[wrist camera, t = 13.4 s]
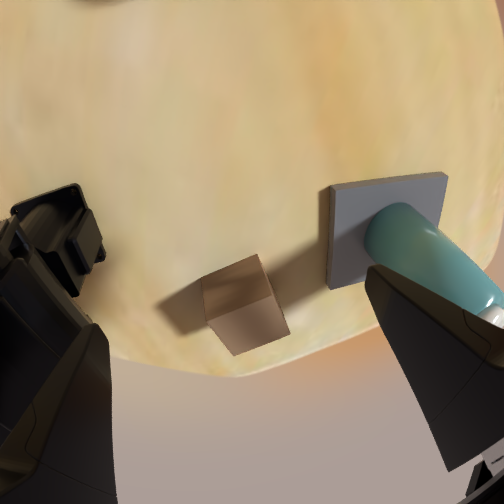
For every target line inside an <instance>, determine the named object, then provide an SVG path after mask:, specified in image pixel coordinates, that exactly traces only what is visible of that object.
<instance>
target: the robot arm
mask: <svg viewBox="0 0 504 504" xmlns="http://www.w3.org/2000/svg"><path fill="white" fill-rule="evenodd" d="M72 189H75V190H76V193H73V192H72ZM15 209H17V210H18V212H16V210H15ZM11 214H12V217H10V218H9V219H5V220H3V221H0V504H118V501H117V497H116V496H117V494H116V485H115V474H114V460H113V442H112V382H111V368H110V352H109V342H108V339H107V337H106V336H105V334H104V333H103V331H102V330H101V328H100V326H99V325H98V324H97V323H93V322H92V320H91V319H90V317H89V316H88V315H86V314H85V313H84V312H83V311H82V310H81V308H80V307H79V306H78V305H77V304H76V302H75V301H74V300H73V299H72V298H73V297H78V296H79V294H80V291H81V288H82V285H83V282H84V279H85V276H86V275H88V274H90V272H91V270H92V267H93V264H94V263H99V262H102V261H104V260H105V257H106V252H105V249H104V247H103V245H102V236H101V233H100V231H99V228H98V226H97V223H96V220H95V218H94V215H93V212H92V210H90V209H89V208H88V206H87V204H86V201H85V198H84V195H83V193H82V190H81V187H80V186H79V185H78V184H76V183H73V184H70V185H67V186H64V187H61V188H58V189H55V190H52V191H49V192H46V193H43V194H41V195H38V196H35V197H32V198H30V199H27V200H25V201H22V202H19V203H17V204H15V205H14V206H13V207H12V208H11ZM97 254H101V255H102V256H98V255H97ZM365 290H366V293H367V295H368V298H369V300H370V302H371V305H372V307H373V310H374V312H375V315H376V317H377V320H378V322H379V324H380V327H381V328H382V330H383V333H384V335H385V336H386V338H387V340H388V342H389V344H390V346H391V348H392V350H393V352H394V354H395V355H396V358H397V360H398V362H399V364H400V365H401V368H402V369H403V371H404V374H405V375H406V378H407V380H408V382H409V383H410V386H411V388H412V390H413V392H414V394H415V396H416V398H417V401H418V403H419V405H420V407H421V409H422V411H423V414H424V416H425V418H426V420H427V422H428V424H429V428H430V430H431V432H432V434H433V437H434V439H435V441H436V444H437V446H438V449H439V451H440V453H441V456H442V458H443V461H444V463H445V466H446V468H447V470H448V472H450V471H452V470H454V469H456V468H457V467H459V466H461V465H463V464H464V463H466V462H468V461H469V460H471V459H473V458H474V457H476V456H477V455H479V454H480V453H481V455H482V456H483V460H482V461H481V462H479V463H478V464H477V465H475V466H474V470H473V473H472V476H471V479H470V482H469V486H468V489H467V492H466V498H465V499H463V500H462V501H461V502H459V503H458V504H504V329H502V328H500V327H498V326H496V325H494V324H492V323H490V322H488V321H486V320H484V319H482V318H480V317H478V316H476V315H475V314H473V313H471V312H469V311H467V310H466V309H464V308H463V309H462V307H460V306H458V305H457V304H455V303H453V302H451V301H449V300H448V299H446V298H444V297H442V296H440V295H439V294H437V293H435V292H433V291H431V290H429V289H428V288H426V287H424V286H422V285H420V284H418V283H416V282H415V281H413V280H411V279H409V278H407V277H405V276H403V275H401V274H399V273H397V272H396V271H394V270H392V269H390V268H388V267H386V266H384V265H382V264H374V265H370V266H369V267H368V269H367V274H366V279H365Z"/></svg>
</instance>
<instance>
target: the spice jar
mask: <svg viewBox="0 0 504 504" xmlns="http://www.w3.org/2000/svg"><path fill="white" fill-rule="evenodd" d="M364 247H365V250H366V252H367V254H368V255H369V256H370V258H371V259H372V260H373V261H374V263H375V264H382V265H384V266H386V267H388V268H390V269H392V270H394V271H396V272H397V273H399V274H401V275H403V276H405V277H407V278H409V279H411V280H413V281H415V282H416V283H418V284H420V285H422V286H424V287H426V288H428V289H429V290H431V291H433V292H435V293H437V294H439V295H440V296H442V297H444V298H446V299H448V300H449V301H451V302H453V303H455V304H457V305H458V306H460V307H462V309H463V308H464V309H466V310H467V311H469V312H471V313H473V314H475V315H476V316H478V317H480V318H482V319H484V320H486V321H488V322H490V323H492V324H494V325H496V326H498V327H500V328H502V327H503V326H504V311H503V309H504V293H503V292H502V291H501V290H500V288H499V287H498V286H497V285H496V284H495V283H494V282H493V281H492V280H491V279H490V278H489V277H488V276H487V275H486V274H485V273H484V272H483V271H482V269H481V268H480V267H479V266H478V265H477V264H476V263H475V262H474V261H473V260H472V259H470V258H469V257H468V256H467V255H466V254H465V253H464V252H463V251H462V250H461V249H460V248H459V247H458V246H457V245H456V244H455V243H454V242H453V241H452V240H450V239H449V238H448V237H447V236H446V235H445V234H444V233H443V232H442V231H440V230H439V229H438V228H437V227H436V226H435V225H434V224H432V223H431V222H430V221H429V220H428V219H427V218H425V217H424V216H423V215H422V214H421V213H420V212H418V211H417V210H416V209H415V208H414V207H412V206H411V205H410V204H407V203H404V202H397V203H393V204H390V205H388V206H386V207H385V208H383V209H382V210H381V211H379V212H378V213H377V214H376V215H375V217H374V218H373V219H372V221H371V222H370V224H369V225H368V227H367V230H366V233H365V237H364Z"/></svg>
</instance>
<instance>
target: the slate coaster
mask: <svg viewBox="0 0 504 504" xmlns="http://www.w3.org/2000/svg"><path fill="white" fill-rule="evenodd" d="M447 181H448V175H446V174H444V173H443V172H434V173H424V174H414V175H405V176H397V177H388V178H380V179H372V180H365V181H357V182H350V183H343V184H336V185H330V218H329V242H328V260H327V276H326V284H327V286H328V288H329V289H330V290H333V289H337V288H340V287H344V286H348V285H352V284H355V283H359V282H363V281H365V279H366V274H367V269H368V267H369V266H370V265H374V264H375V263H374V261H373V260H372V259H371V258H370V256H369V255H368V254H367V252H366V250H365V247H364V237H365V233H366V230H367V227H368V225H369V224H370V222H371V221H372V219H373V218H374V217H375V215H376V214H377V213H378V212H379V211H381V210H382V209H383V208H385V207H386V206H388V205H390V204H393V203H397V202H404V203H407V204H410V205H411V206H412V207H414V208H415V209H416V210H417V211H418V212H420V213H421V214H422V215H423V216H424V217H425V218H427V219H428V220H429V221H430V222H431V223H432V224H434V225H435V226H436V227H437V228H438V224H439V220H440V216H441V211H442V207H443V202H444V197H445V192H446V187H447Z"/></svg>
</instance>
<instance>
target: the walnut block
mask: <svg viewBox="0 0 504 504" xmlns="http://www.w3.org/2000/svg"><path fill="white" fill-rule="evenodd" d="M201 283H202V291H203V300H204V308H205V316H206V322H207V323H208V325H209V326H210V327H211V328H212V330H213V331H214V332H215V334H216V335H217V336H218V337H219V339H220V340H221V341H222V343H223V344H224V345H225V346H226V348H227V349H228V350H229V351H230V353H231V354H232V355H233V356H236V355H238V354H241V353H244V352H247V351H249V350H252V349H255V348H257V347H260V346H262V345H265V344H267V343H270V342H272V341H275V340H278V339H280V338H282V337H285V336H287V335H290V334H291V333H290V331H289V328H288V326H287V323H286V320H285V318H284V315H283V312H282V310H281V307H280V305H279V302H278V299H277V297H276V294H275V292H274V290H273V287H272V285H271V283H270V281H269V279H268V277H267V274H266V272H265V270H264V268H263V266H262V263H261V261H260V259H259V257H258V255H257V254H255V255H253V256H250V257H248V258H246V259H243V260H241V261H239V262H236V263H234V264H232V265H229V266H227V267H225V268H222V269H220V270H217V271H215V272H213V273H210V274H208V275H206V276H203V277H201Z"/></svg>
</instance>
